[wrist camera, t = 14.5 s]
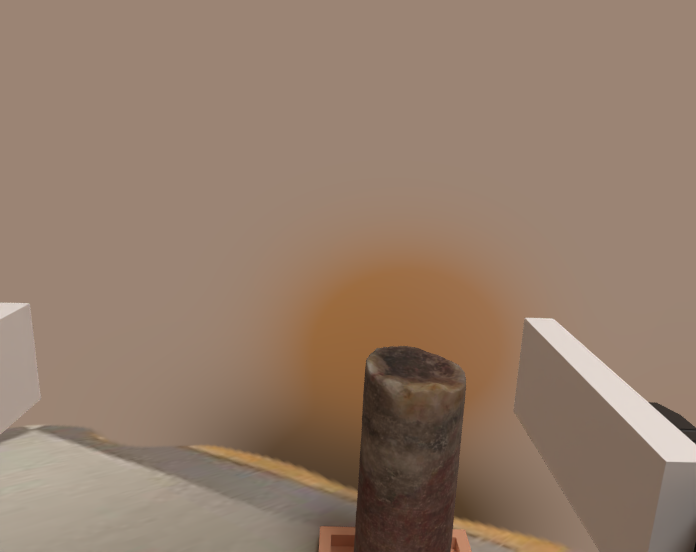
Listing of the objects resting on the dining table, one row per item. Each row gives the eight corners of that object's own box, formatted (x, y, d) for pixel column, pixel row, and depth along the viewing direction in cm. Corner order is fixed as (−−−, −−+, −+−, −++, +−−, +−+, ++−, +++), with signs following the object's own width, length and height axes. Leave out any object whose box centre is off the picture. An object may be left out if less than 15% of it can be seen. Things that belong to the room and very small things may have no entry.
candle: (395, 549, 48) (409, 335, 43) (466, 600, 43) (491, 365, 38) (331, 597, 43) (338, 360, 38) (402, 661, 38) (422, 398, 33)
